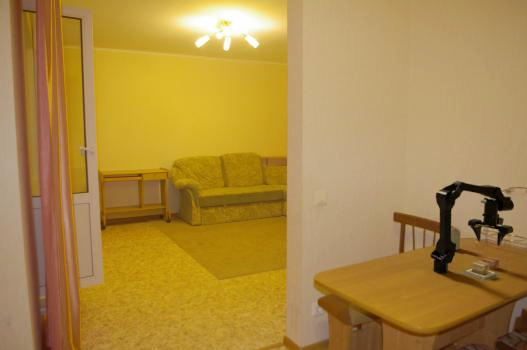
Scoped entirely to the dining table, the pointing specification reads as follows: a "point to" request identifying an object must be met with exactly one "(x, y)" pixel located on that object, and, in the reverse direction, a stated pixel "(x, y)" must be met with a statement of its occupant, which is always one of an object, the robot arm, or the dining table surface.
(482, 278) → the board
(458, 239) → the can
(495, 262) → the top block
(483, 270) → the base block
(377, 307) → the dining table surface
